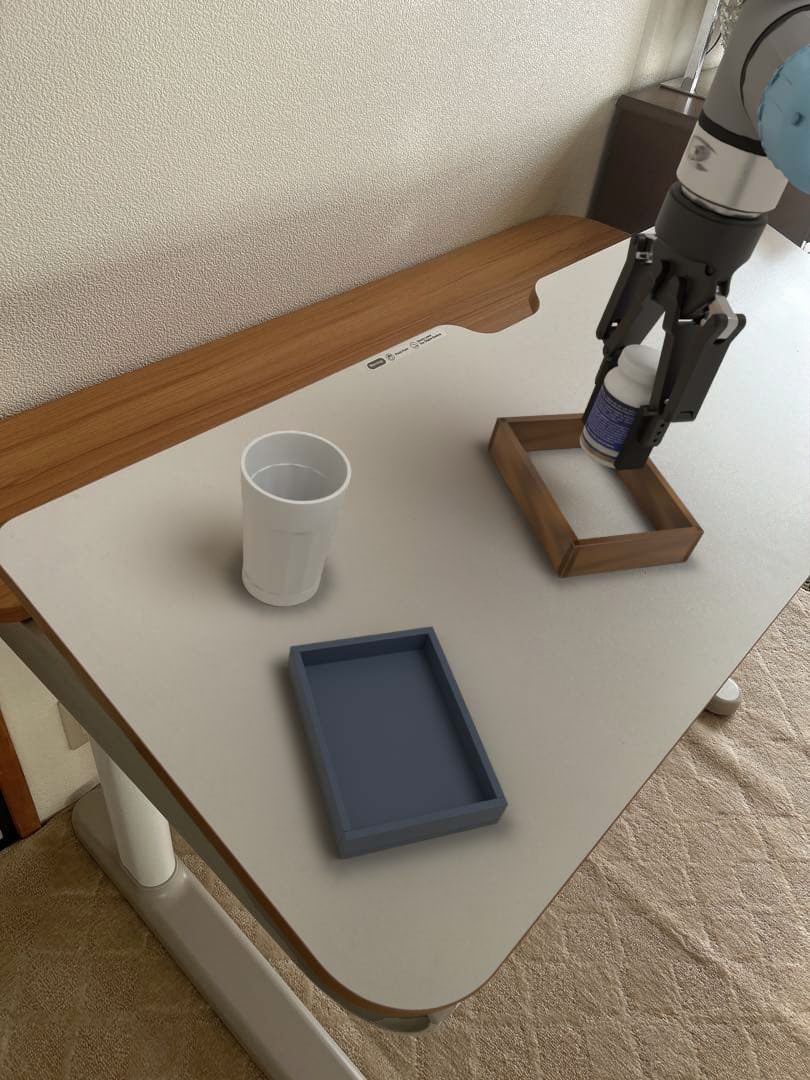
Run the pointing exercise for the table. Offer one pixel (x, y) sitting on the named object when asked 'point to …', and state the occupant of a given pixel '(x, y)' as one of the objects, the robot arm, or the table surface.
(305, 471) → the cup
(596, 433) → the pill bottle
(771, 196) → the robot arm
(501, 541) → the table surface
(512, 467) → the wooden frame
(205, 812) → the table surface
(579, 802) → the table surface
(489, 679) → the table surface
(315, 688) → the tray
